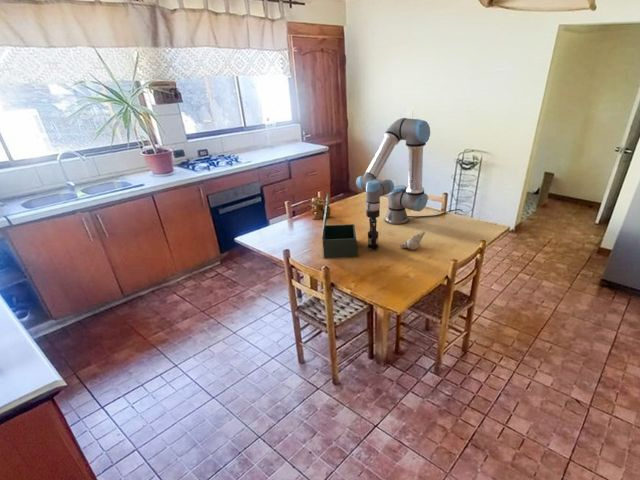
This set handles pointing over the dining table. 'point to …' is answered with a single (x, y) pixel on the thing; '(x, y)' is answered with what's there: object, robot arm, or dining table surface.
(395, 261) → the dining table surface
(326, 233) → the open box
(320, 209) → the stuffed squirrel
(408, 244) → the seashell
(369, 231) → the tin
